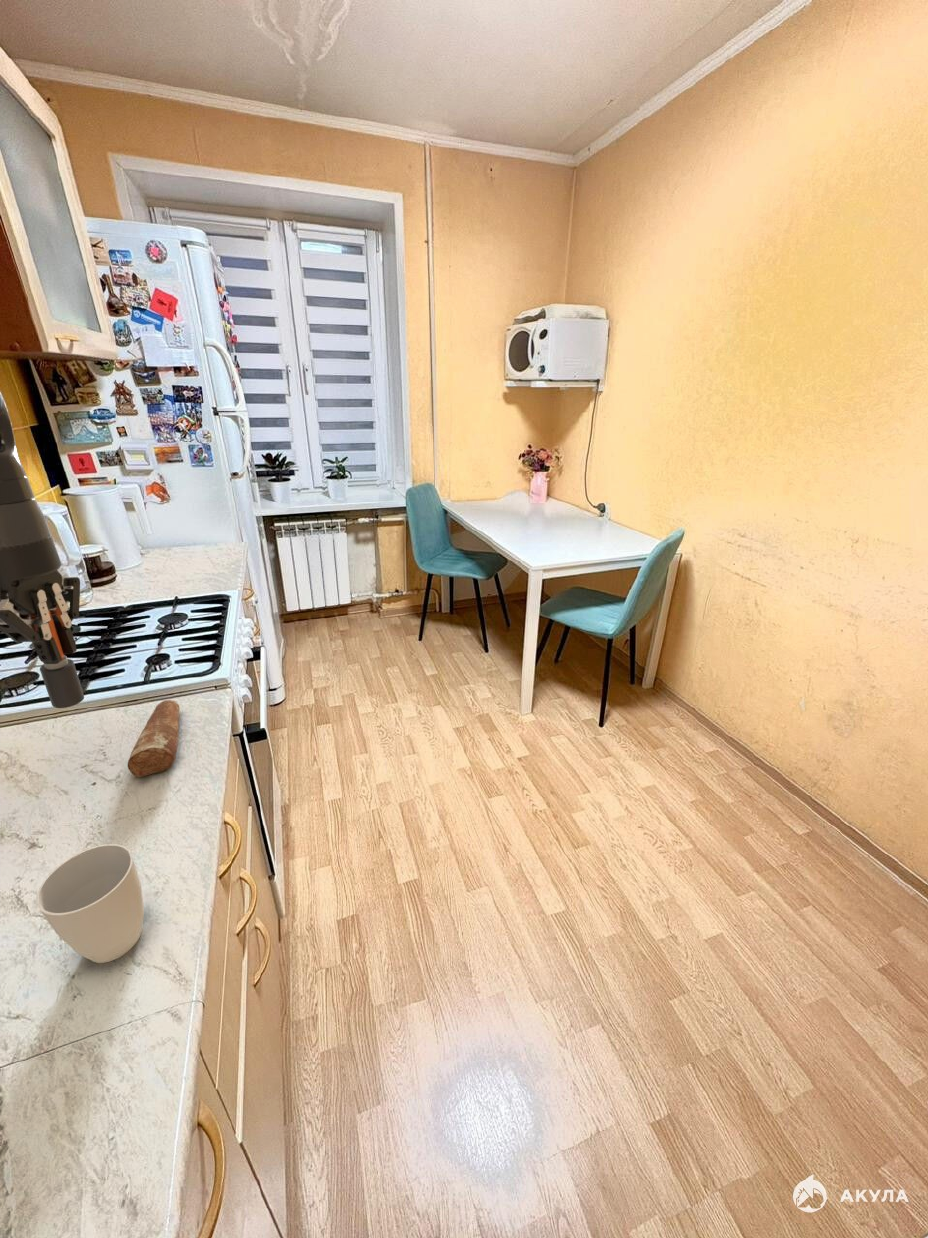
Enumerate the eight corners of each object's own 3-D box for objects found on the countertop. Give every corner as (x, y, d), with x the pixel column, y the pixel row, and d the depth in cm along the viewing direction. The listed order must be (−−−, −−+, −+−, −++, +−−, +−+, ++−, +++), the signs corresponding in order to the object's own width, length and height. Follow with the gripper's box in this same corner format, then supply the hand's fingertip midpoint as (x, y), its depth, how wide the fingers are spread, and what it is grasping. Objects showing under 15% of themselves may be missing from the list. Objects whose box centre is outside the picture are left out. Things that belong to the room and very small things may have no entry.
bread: (131, 786, 76) (121, 757, 74) (156, 717, 93) (147, 691, 91) (177, 775, 78) (168, 747, 76) (193, 710, 95) (186, 685, 92)
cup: (162, 895, 60) (139, 835, 55) (151, 961, 53) (123, 897, 49) (83, 919, 57) (52, 857, 53) (59, 992, 50) (22, 927, 46)
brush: (45, 706, 71) (4, 589, 64) (68, 692, 75) (32, 579, 67) (67, 710, 71) (29, 592, 63) (90, 695, 74) (56, 582, 67)
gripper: (27, 524, 69) (70, 636, 76) (-71, 553, 56) (-9, 684, 64) (81, 523, 69) (118, 635, 76) (-5, 553, 56) (49, 684, 63)
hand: (60, 657), depth 70 cm, fingers closed on brush, 2 cm apart
